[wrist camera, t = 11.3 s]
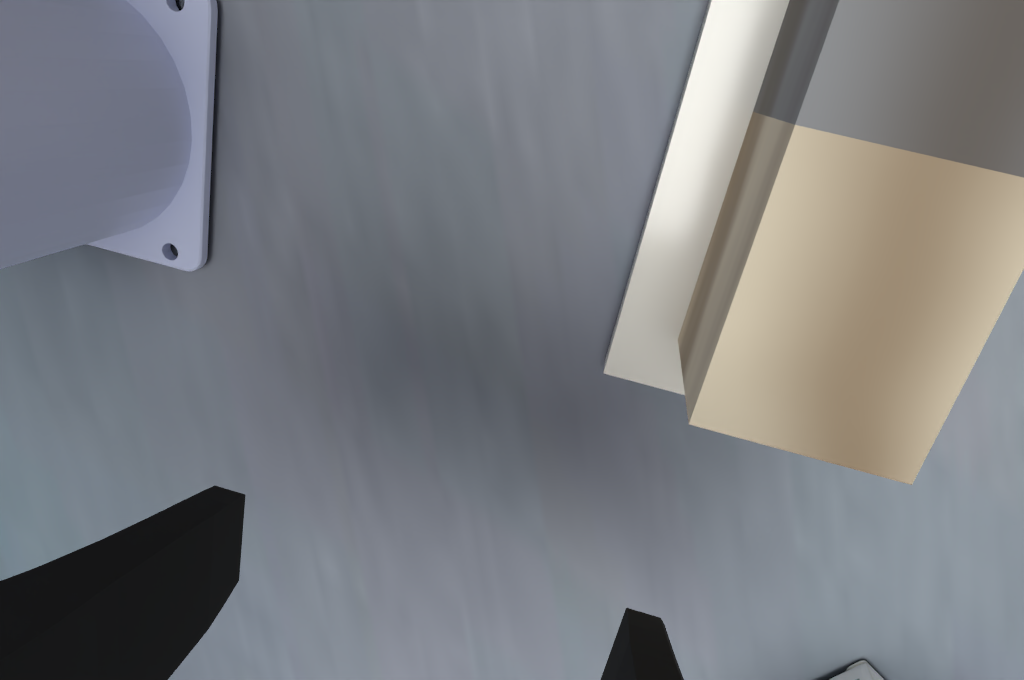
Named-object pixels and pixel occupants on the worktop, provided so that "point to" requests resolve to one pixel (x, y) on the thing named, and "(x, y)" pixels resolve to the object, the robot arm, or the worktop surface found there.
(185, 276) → the worktop surface
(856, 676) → the syrup box
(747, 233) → the capped bar
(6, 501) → the worktop surface
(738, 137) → the tile
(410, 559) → the worktop surface
